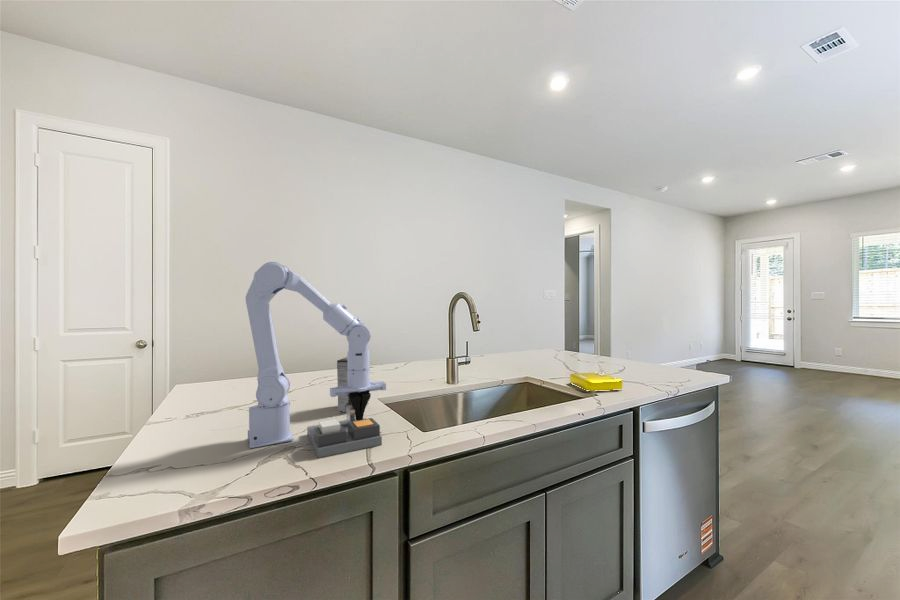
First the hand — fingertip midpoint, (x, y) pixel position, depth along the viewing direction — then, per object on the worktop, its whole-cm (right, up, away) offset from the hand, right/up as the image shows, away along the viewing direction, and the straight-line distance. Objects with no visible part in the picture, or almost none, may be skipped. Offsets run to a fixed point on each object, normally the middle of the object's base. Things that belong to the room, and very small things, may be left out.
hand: (359, 419), depth 99 cm
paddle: (-2, 0, -1) cm, 2 cm away
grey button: (-4, +1, -11) cm, 12 cm away
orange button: (+3, 0, -8) cm, 8 cm away
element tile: (+81, -3, +46) cm, 93 cm away
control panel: (-3, -3, -6) cm, 7 cm away
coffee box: (-7, -3, +20) cm, 22 cm away
